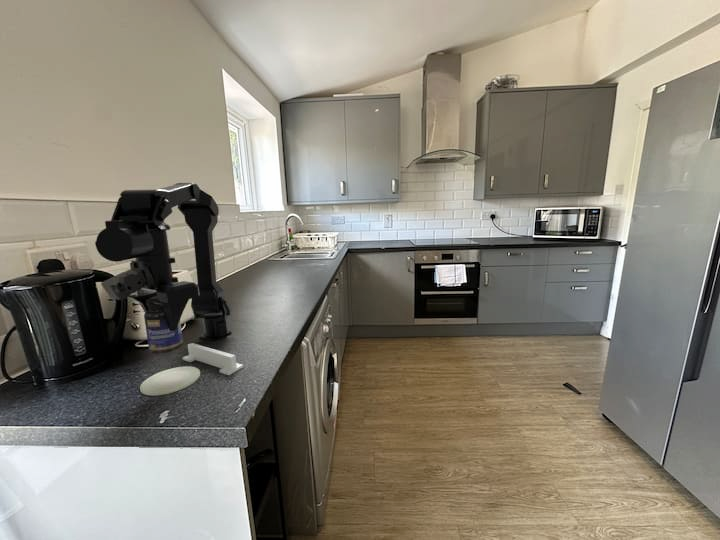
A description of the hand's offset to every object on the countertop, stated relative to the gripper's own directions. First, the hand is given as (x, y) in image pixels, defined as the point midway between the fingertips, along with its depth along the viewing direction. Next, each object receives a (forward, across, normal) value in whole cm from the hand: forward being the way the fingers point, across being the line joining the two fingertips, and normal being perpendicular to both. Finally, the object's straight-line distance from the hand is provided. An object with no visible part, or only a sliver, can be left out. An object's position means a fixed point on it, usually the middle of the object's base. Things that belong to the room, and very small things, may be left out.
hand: (164, 328), depth 62 cm
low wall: (+12, +1, +9) cm, 15 cm away
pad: (+12, 0, 0) cm, 12 cm away
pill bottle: (+5, 0, 0) cm, 5 cm away
